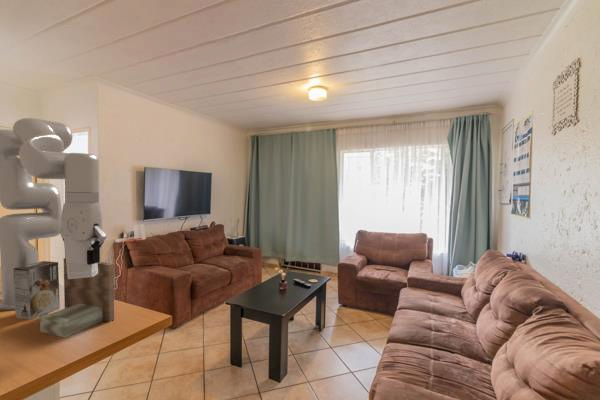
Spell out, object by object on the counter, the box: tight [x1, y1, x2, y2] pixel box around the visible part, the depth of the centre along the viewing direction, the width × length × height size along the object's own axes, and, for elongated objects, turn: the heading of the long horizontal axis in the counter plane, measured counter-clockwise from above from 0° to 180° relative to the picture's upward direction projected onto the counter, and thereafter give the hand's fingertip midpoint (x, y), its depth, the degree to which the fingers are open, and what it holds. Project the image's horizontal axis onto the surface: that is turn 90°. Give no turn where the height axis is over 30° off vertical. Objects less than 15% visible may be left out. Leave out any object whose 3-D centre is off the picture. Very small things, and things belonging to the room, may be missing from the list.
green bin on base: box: [39, 257, 115, 338], centre depth 88 cm, size 20×12×18 cm, turn 72°
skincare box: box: [63, 235, 98, 279], centre depth 80 cm, size 6×4×12 cm
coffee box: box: [13, 260, 61, 321], centre depth 94 cm, size 9×6×16 cm
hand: (82, 261), depth 80 cm, fingers closed on skincare box, 7 cm apart
